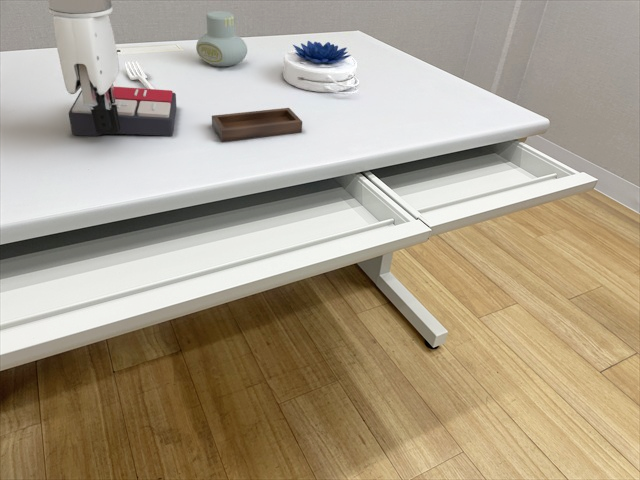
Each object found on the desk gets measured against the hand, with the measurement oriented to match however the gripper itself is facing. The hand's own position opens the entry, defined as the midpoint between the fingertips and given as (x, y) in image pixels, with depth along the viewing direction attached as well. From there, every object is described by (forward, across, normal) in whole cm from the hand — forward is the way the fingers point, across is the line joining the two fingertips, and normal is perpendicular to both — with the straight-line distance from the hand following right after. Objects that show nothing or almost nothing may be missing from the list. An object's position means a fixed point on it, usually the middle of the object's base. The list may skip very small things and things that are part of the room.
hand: (109, 131), depth 72 cm
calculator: (+2, -8, +1) cm, 8 cm away
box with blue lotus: (+3, -31, +36) cm, 47 cm away
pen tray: (+2, -7, +22) cm, 23 cm away
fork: (+2, -22, +1) cm, 22 cm away
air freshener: (+2, -40, +14) cm, 42 cm away
